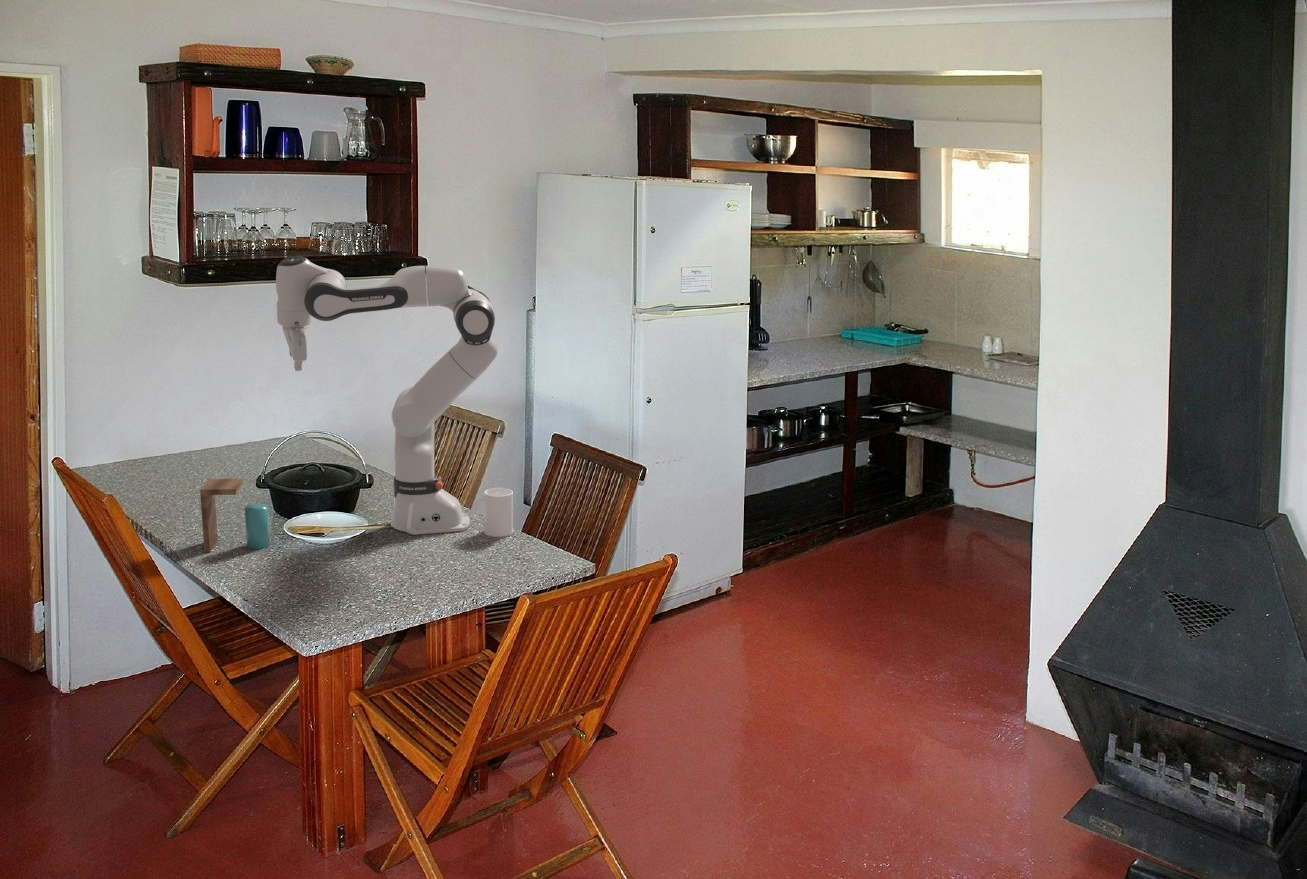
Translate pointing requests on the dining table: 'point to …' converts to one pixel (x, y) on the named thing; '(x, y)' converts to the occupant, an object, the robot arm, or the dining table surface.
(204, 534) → the brown wooden l-shaped block
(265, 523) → the teal rounded cylinder
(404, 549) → the dining table surface
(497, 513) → the mug
